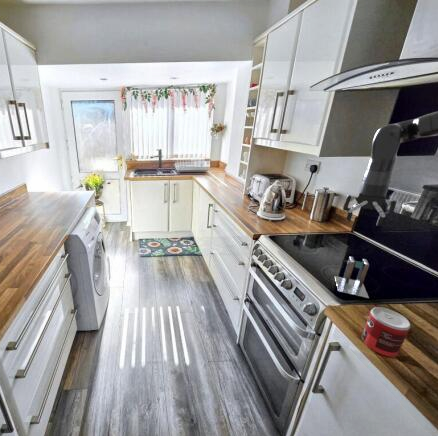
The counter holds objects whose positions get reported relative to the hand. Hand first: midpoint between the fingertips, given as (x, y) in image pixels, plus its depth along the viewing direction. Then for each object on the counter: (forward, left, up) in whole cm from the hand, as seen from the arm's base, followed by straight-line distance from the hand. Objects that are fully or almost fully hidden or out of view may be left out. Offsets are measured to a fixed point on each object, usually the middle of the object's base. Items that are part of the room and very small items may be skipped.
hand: (362, 223), depth 93 cm
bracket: (+5, +9, -24) cm, 26 cm away
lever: (+3, +6, -16) cm, 17 cm away
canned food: (+15, +36, -24) cm, 46 cm away
